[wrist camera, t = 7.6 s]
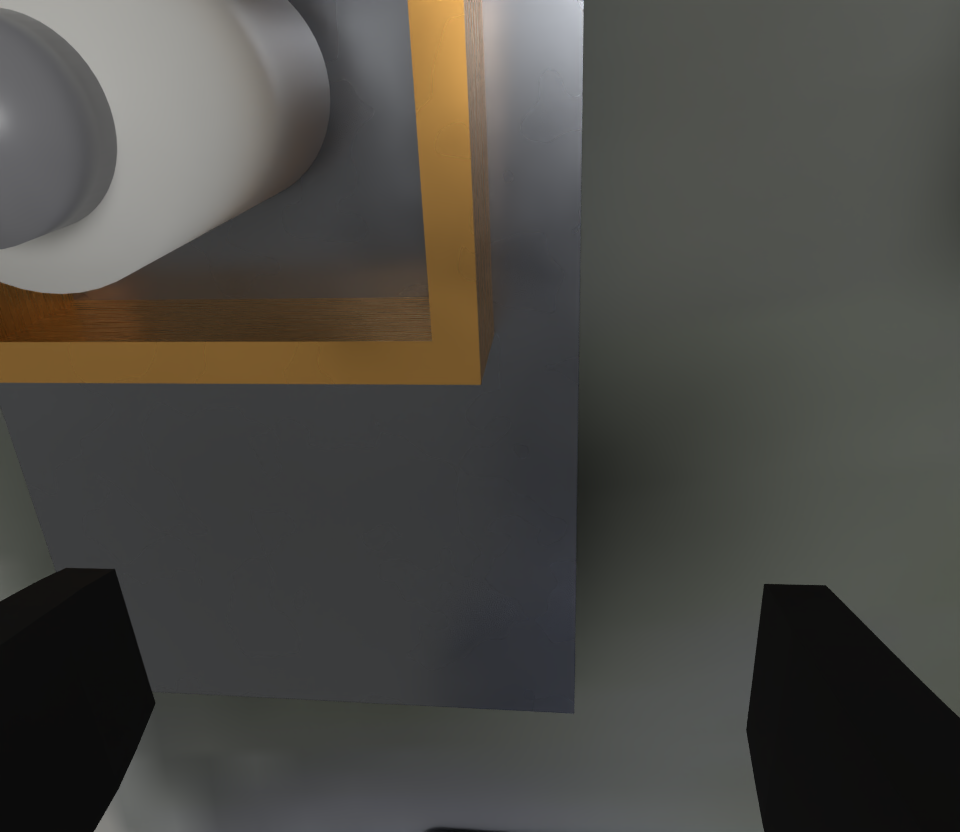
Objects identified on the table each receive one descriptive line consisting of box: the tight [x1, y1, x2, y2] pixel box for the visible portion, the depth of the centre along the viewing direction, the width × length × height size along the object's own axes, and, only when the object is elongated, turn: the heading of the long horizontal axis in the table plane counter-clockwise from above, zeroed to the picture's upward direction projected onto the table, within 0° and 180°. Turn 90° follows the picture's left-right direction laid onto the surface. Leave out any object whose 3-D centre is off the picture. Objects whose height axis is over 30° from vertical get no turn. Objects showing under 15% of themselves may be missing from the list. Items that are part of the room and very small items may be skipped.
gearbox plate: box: [0, 0, 584, 713], centre depth 16 cm, size 20×13×4 cm, turn 2°
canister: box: [0, 0, 330, 294], centre depth 11 cm, size 4×4×7 cm
